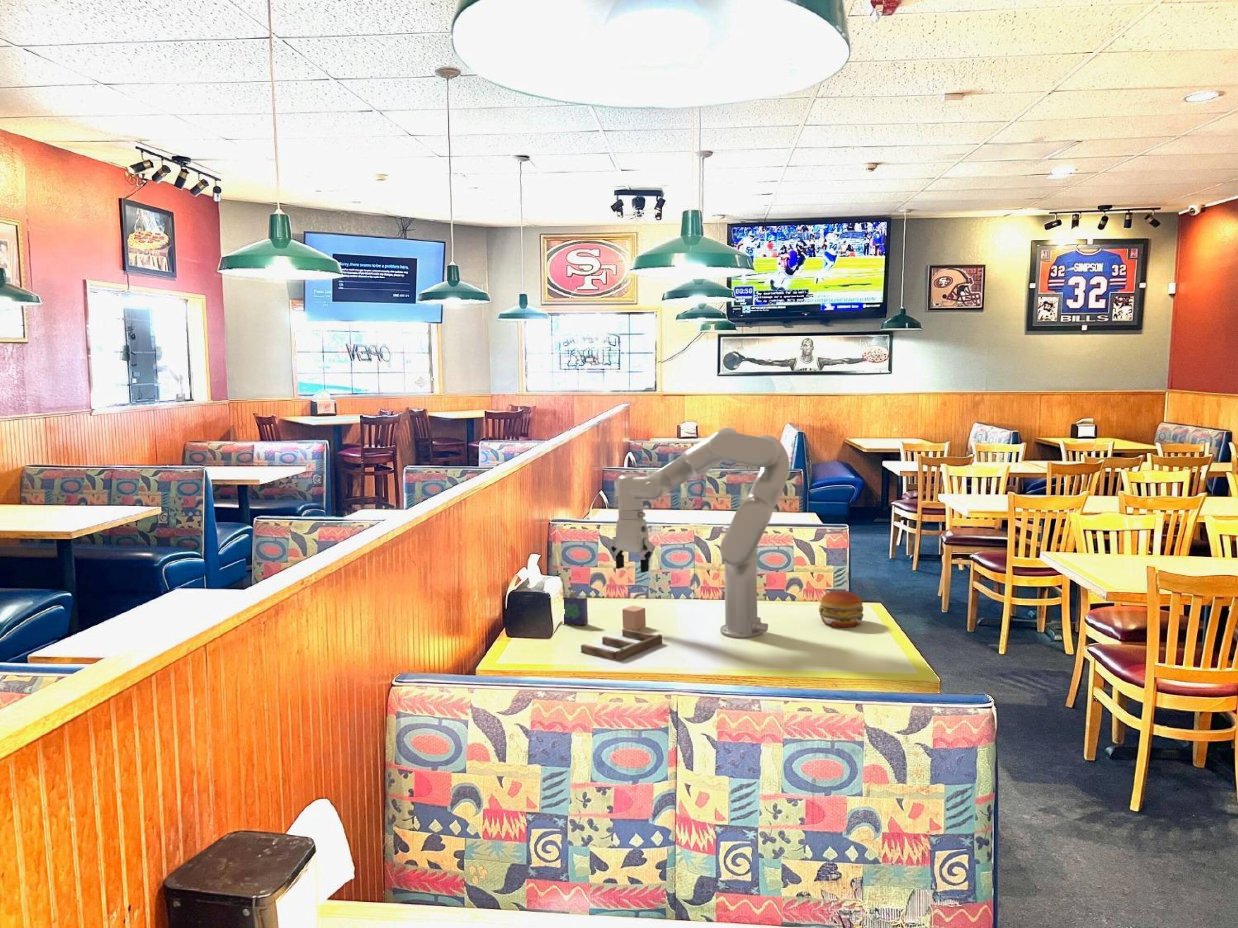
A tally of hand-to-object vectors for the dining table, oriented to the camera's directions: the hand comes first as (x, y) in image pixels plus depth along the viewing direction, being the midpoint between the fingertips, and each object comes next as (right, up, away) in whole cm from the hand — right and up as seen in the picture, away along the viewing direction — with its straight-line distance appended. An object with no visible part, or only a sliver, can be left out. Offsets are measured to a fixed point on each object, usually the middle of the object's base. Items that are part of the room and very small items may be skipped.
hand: (632, 569), depth 272 cm
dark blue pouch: (-18, -18, +7) cm, 27 cm away
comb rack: (-4, -20, -18) cm, 27 cm away
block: (+1, -18, +2) cm, 18 cm away
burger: (+64, -17, 0) cm, 66 cm away
